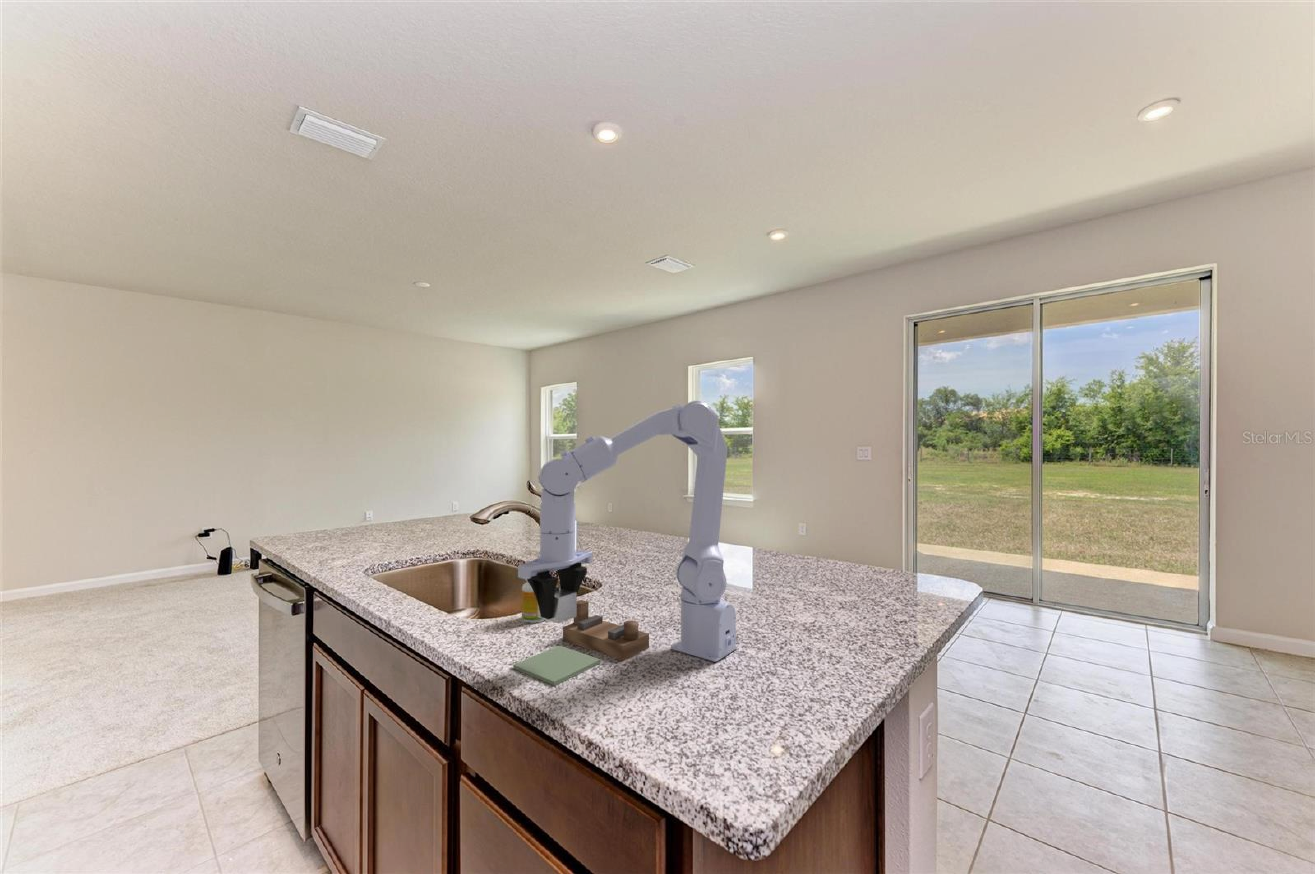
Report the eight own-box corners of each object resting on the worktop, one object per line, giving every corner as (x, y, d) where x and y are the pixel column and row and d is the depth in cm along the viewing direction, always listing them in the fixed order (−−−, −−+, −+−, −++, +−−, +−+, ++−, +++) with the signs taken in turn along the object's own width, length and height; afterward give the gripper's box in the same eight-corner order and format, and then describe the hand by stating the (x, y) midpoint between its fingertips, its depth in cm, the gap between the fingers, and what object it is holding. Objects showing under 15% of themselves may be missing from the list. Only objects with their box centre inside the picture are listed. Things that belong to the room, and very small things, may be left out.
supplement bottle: (541, 624, 102) (541, 576, 102) (517, 622, 103) (517, 575, 103) (552, 616, 107) (552, 570, 107) (528, 614, 108) (529, 569, 109)
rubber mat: (600, 663, 83) (600, 659, 84) (554, 685, 76) (554, 681, 76) (559, 648, 90) (559, 645, 90) (513, 668, 82) (513, 664, 82)
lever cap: (576, 616, 83) (576, 588, 83) (558, 623, 80) (558, 594, 80) (556, 610, 86) (556, 583, 86) (537, 617, 83) (537, 589, 83)
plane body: (649, 647, 90) (649, 611, 90) (623, 660, 84) (623, 622, 85) (589, 629, 99) (589, 596, 99) (562, 640, 93) (562, 605, 94)
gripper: (573, 524, 91) (572, 599, 91) (506, 534, 80) (505, 620, 79) (601, 527, 87) (601, 606, 87) (534, 539, 75) (534, 630, 75)
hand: (557, 614), depth 83 cm, fingers closed on lever cap, 4 cm apart
